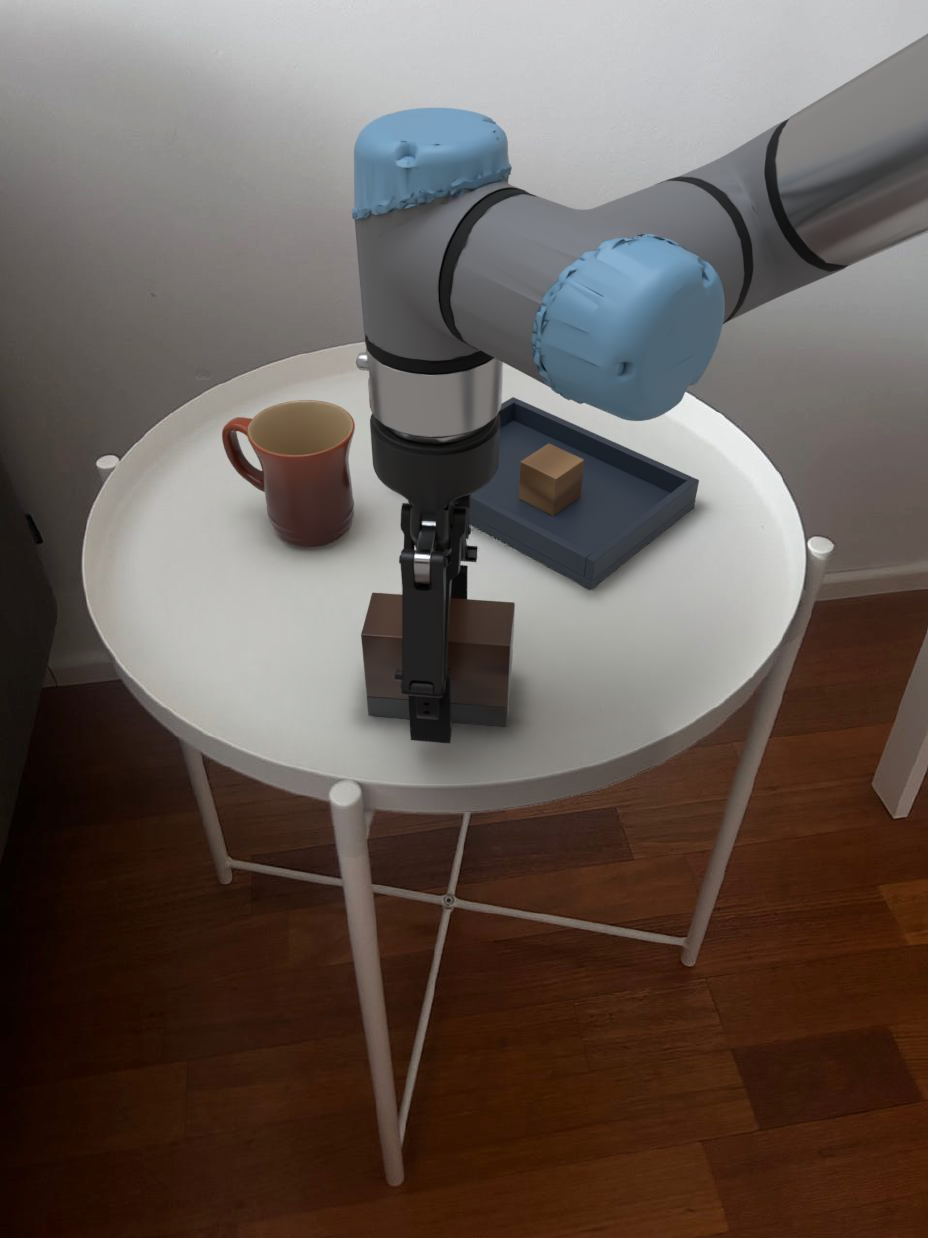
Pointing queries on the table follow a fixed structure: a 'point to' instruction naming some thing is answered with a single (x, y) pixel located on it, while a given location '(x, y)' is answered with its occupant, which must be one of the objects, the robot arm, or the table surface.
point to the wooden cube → (551, 479)
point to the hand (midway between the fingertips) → (440, 683)
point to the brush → (472, 657)
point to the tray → (594, 523)
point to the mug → (299, 468)
